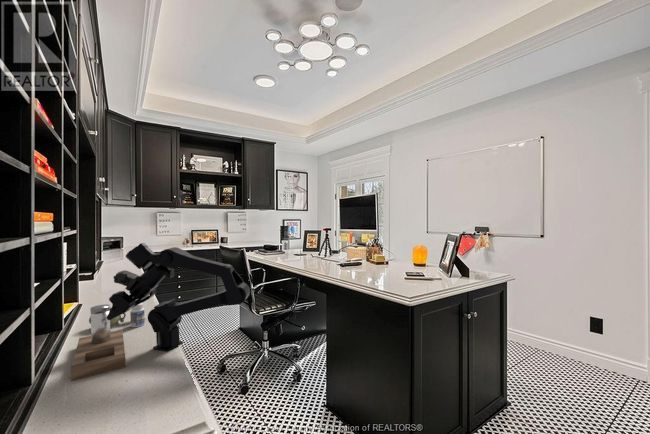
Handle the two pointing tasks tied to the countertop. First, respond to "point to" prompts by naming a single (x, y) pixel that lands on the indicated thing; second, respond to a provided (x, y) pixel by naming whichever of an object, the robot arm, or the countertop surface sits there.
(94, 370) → the plate
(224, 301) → the robot arm
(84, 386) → the countertop surface
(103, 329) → the silver cylindrical piece
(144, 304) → the white supplement bottle
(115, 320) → the vessel
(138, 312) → the pill bottle
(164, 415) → the countertop surface
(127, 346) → the countertop surface
